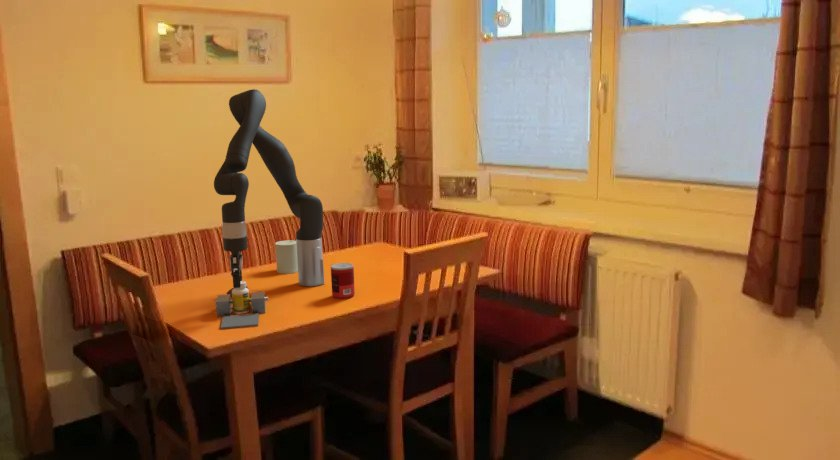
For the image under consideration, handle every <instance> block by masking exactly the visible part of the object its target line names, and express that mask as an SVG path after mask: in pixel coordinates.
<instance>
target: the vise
mask: <svg viewBox="0 0 840 460" xmlns="http://www.w3.org/2000/svg"><path fill="white" fill-rule="evenodd" d="M265 295H266V294H265V291H256V292H255V291H254V292H251V297H249V301H250V303H251V309H252V310H251V311H252V313H251V314H256V313H259V315H260V314H266V302H269V297H268V296H265ZM215 309H216V310H215V311H216V317H217V318H223V316H231V315H232V314H231V313H232V310H233V303H232V298H231V297H230V294H218V295H217V297H216V300H215Z"/></svg>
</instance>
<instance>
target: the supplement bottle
mask: <svg viewBox="0 0 840 460" xmlns="http://www.w3.org/2000/svg"><path fill="white" fill-rule="evenodd" d="M240 285H241V286H240V288H235V289H233V290H232V298H231V300H232V303H233V304H232V312H233V314H236V315H243V314H246V313H247V314H248V313H249V312H251V311H250V310H251V302H250V301H249V298H250V291H249V288H248V289H247V288H246V286H247V282H246V281H245V280H244V281H243V280H242V281H240Z"/></svg>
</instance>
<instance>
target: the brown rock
mask: <svg viewBox="0 0 840 460" xmlns="http://www.w3.org/2000/svg"><path fill="white" fill-rule="evenodd" d="M246 288H247V289H248V290H249V288H248V286H247V285H246ZM233 289H235V288H234V287H232V288H230V289H229V290H228V291H227V292H226V293H225V295H227V294H230V297H231V299H232V290H233Z"/></svg>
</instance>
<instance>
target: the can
mask: <svg viewBox="0 0 840 460" xmlns="http://www.w3.org/2000/svg"><path fill="white" fill-rule="evenodd" d="M274 247H275V259H276V260H275V261H276V273H278V274H283V275H284V274H286V275H287V274H294V273H295V274H296V273H298V260H297V244H296V240H294V239H292V240H291V239H290V240H289V239H287V240H279V241H276V242H275V243H274Z"/></svg>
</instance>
